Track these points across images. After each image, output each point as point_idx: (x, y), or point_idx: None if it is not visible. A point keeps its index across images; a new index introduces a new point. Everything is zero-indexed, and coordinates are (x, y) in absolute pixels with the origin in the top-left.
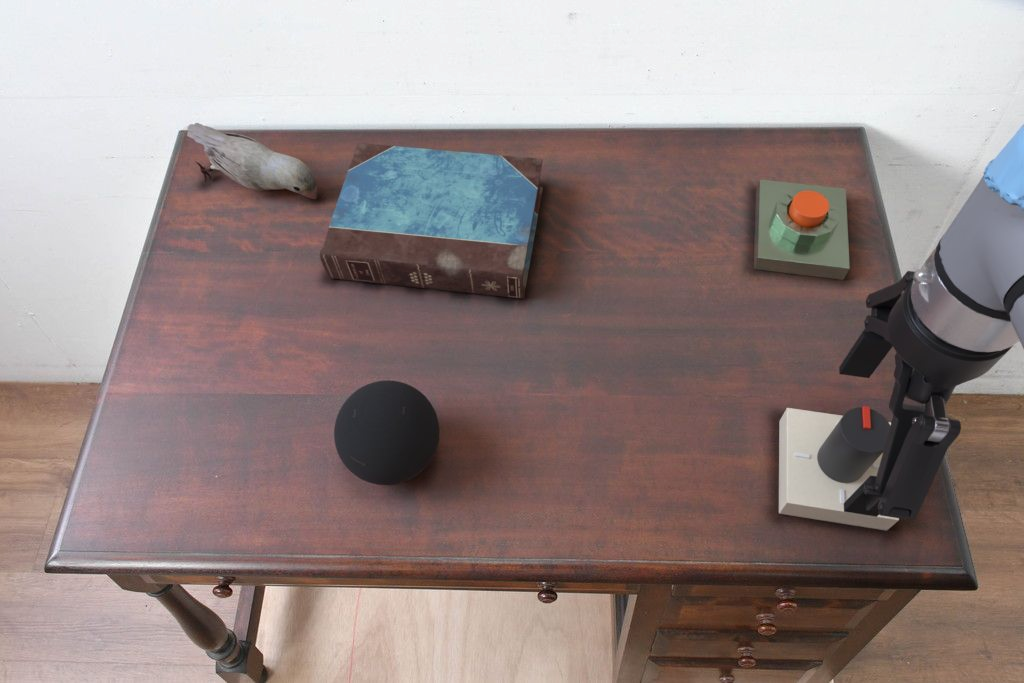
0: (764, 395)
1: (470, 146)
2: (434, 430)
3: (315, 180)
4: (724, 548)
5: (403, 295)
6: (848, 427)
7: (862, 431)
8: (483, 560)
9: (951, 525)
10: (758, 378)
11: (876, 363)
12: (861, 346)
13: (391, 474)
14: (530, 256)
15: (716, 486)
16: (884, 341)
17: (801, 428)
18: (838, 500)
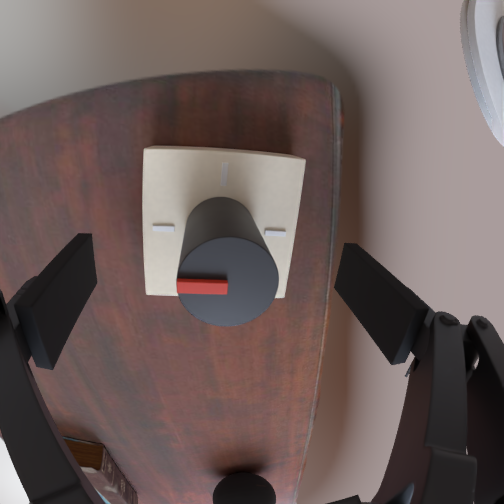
0: (121, 289)
1: None
2: (246, 498)
3: None
4: (311, 325)
5: (131, 479)
6: (227, 315)
7: (233, 292)
8: (308, 439)
9: (280, 73)
10: (101, 294)
11: (72, 262)
12: (61, 342)
13: (275, 498)
14: (67, 438)
15: (246, 335)
16: (38, 329)
17: (174, 278)
18: (280, 237)
